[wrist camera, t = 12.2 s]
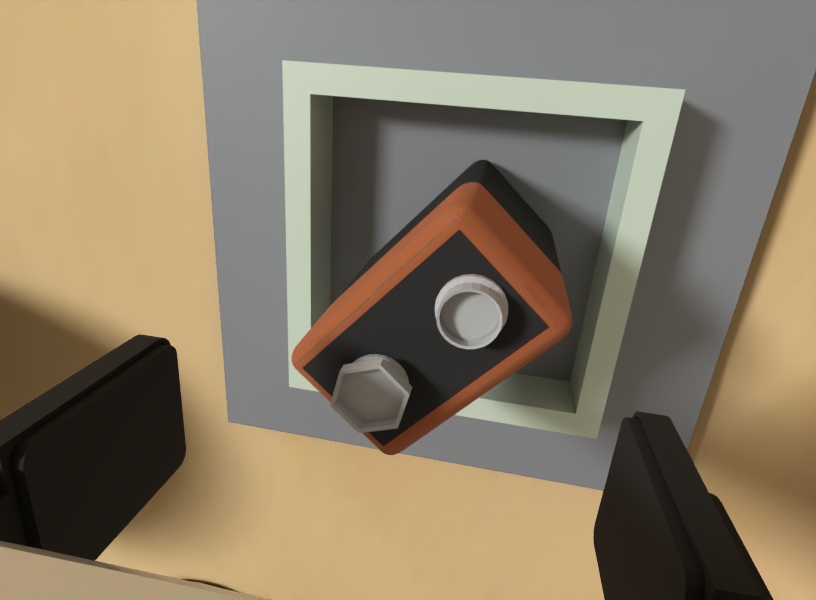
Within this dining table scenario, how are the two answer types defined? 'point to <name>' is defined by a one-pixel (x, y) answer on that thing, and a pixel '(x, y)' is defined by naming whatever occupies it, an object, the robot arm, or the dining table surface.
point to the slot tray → (525, 171)
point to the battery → (439, 313)
